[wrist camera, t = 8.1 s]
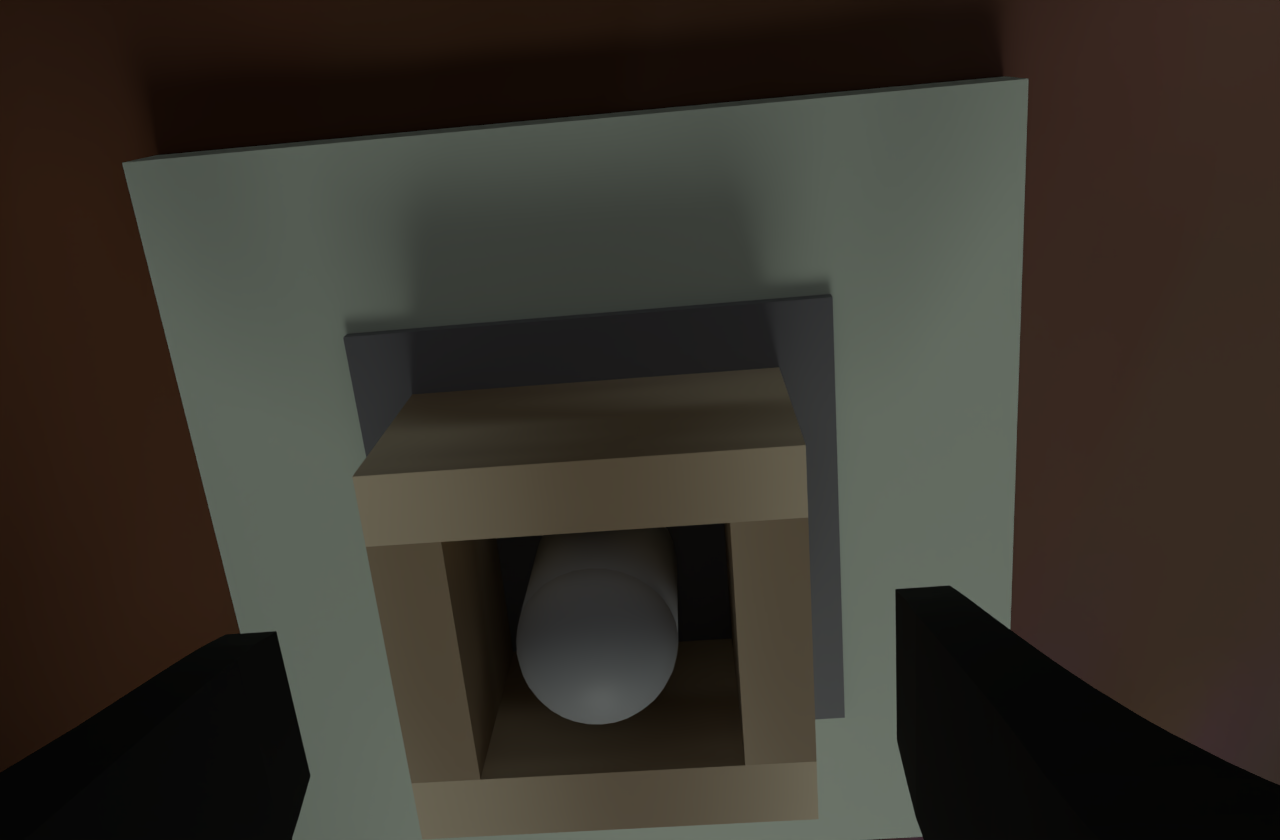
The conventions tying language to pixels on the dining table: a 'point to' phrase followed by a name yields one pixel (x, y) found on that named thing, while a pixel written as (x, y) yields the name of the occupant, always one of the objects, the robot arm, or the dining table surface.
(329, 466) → the pin board
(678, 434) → the collar
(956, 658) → the robot arm
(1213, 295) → the dining table surface
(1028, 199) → the dining table surface
